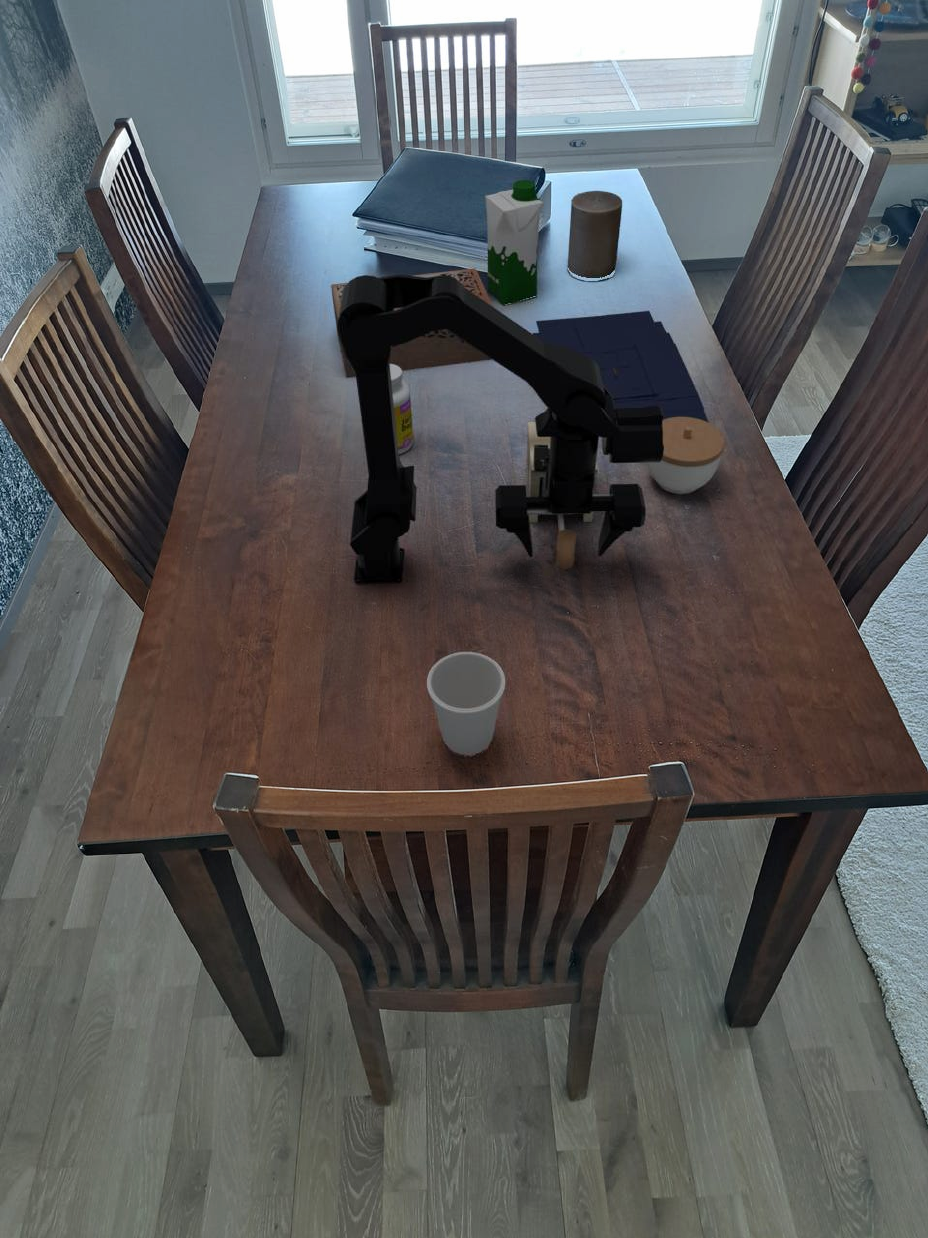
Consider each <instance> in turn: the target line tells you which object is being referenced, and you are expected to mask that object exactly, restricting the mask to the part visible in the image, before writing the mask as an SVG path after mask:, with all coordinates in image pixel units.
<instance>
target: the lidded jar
mask: <svg viewBox="0 0 928 1238" xmlns="http://www.w3.org/2000/svg"><path fill="white" fill-rule="evenodd" d="M708 422H709V421H708ZM708 422H706V421H703V420H700V419H696V418H691V417H672V418H667V419H664V420H663V422H662V426H663V445H664V452H663V457H662V460H661V461H660V462H650V463H647V467H648V471H649V473H650V475H651V477H652V478H653V479H654V480H655V482H657V484H658V485H659V486H660V488H661V489H662V490H665V492H668V493H672V494H676V495H687V494H690V493H693V492H695V491H696V490H698V489H699V488H701V487H703V486H705V485H706V484H708V482H709V481H710V480H711V479H712V478H713V476H714V475H715V473H716V471H717V470H718V467H719V465H720V461H721V457H722V454H723V452H724V449H725V446H726V445H725V444H726V442H725V437H724V435H723V434H722V431H720V429H719V428H717V427H716V426H715V425H713V424H711V422H709V423H708Z"/></svg>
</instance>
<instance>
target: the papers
mask: <svg viewBox="0 0 928 1238" xmlns="http://www.w3.org/2000/svg"><path fill="white" fill-rule="evenodd" d="M535 323H536V326H537V327H536V328H537V331H538V332H532V334H533V335H535V336H536V337H537V338H539V339H540V340H542V341H543V342H545V343H548V344H550V345H552V346H558V347H567V348H570V349H572V350H574V351H576V352H578V353H581V354H583V355H585V356H587V357H589V358H591V359H593V360H594V361H595V362H596V363H597V364H598V366H599V368H600V372H601V377H602V381H603V385H604V386H605V387H606V389H607V390H608V391H609V392H610V394H611V395H612V398H613V402H614V407H615V409H616V408H644V407H648V406H660V407H661V410H662V413H663V420H664V419H667V418H672V417H691V418H696V419H700V420H703V421H706V422H708V423H710V422H709V419H708V417H707V414H706V412H705V407H704V405H703V403H702V402H703V401H701V398H700V397H701V396H700V395H699V392H698V390H697V388H696V386H695V384H694V381H693V379H692V377H691V375H690V373H689V370H688V369H687V366H686V364H685V361H684V360H683V358H682V356H681V353H680V351H679V348H678V346H677V344H676V343H675V342H674V339H673V337H672V336H671V334H670V332H667V331H666V328H665V326H664V325H663V323H662V321H661V320H659V321H655V320H654V318H653V316H652V314H651V312H650V310H643V311H634V312H632V311H631V312H624V313H623V312H622V313H621V312H620V313H615V314H614V313H613V314H603V315H593V316H583V317H581V316H580V317H579V316H578V317H569V318H559V319H558V318H555V319H545V320H535Z"/></svg>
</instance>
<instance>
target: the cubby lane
mask: <svg viewBox="0 0 928 1238" xmlns="http://www.w3.org/2000/svg"><path fill="white" fill-rule="evenodd" d="M526 433H527V436H526V437H527V439H526V460H525V461H526V463H525V464H526V465H525V478H526V480H525V481H526V496H527V497H540V477H546V472H535V471H534V445H548V448H549V449H550V439H551V437H538V436H537V432H536V424H535V421H528V422H527V432H526ZM597 477H598V463H597V461H596V469H595V479H594V488H593V494H596V486H597V480H598V478H597ZM593 517H594V511H592V512H591V514H582V520H583V521H582V522H583V523H587V522H588V523H592V522H593ZM538 519H539V514H538V515H529V521H530V523H538V522H539V521H538Z"/></svg>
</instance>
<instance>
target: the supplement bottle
mask: <svg viewBox="0 0 928 1238" xmlns="http://www.w3.org/2000/svg"><path fill="white" fill-rule="evenodd" d="M390 373H391V383H392V393H393V404H394V414H395V424H396V434H397V444H398V455H402V454H404V453H406V452H407V451H409V450H410V449H411V448H412V446H413V444H414V429H413V415H412V413H413V411H412V402H411V400H412V399H411V389H410V388H409V386H408V384H407V383H406V382H405V381H403V371H402V370H401V368H400V367H399V366H397V365H394V364H390Z"/></svg>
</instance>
